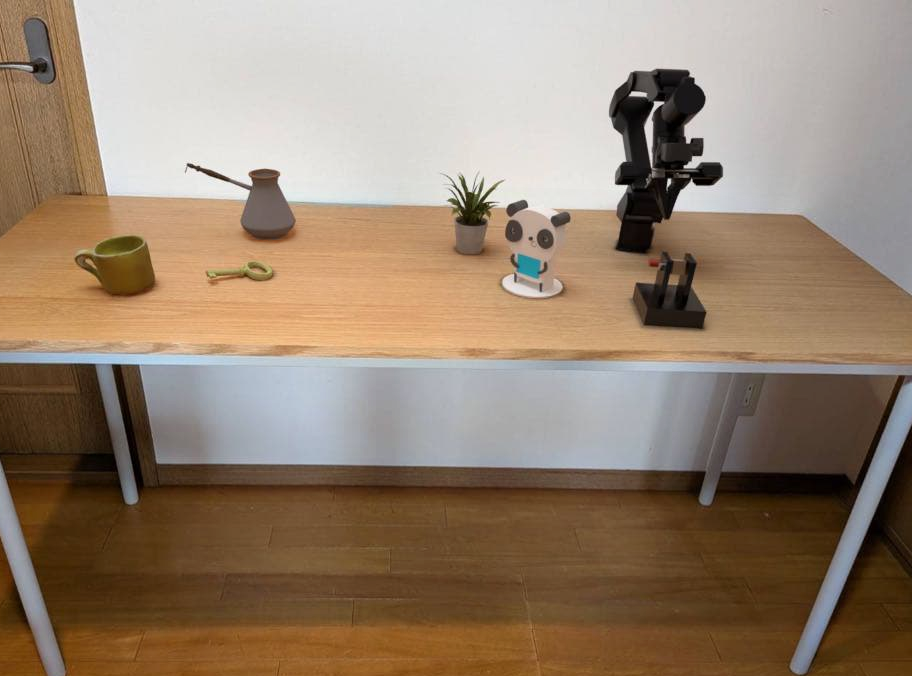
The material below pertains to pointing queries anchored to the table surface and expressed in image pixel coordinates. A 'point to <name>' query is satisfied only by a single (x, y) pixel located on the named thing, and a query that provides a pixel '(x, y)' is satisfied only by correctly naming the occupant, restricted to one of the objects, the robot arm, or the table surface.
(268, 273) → the key
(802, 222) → the table surface
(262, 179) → the coffee pot
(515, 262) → the panda figurine
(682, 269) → the switch lever
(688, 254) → the lever base unit
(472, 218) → the house plant
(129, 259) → the mug
